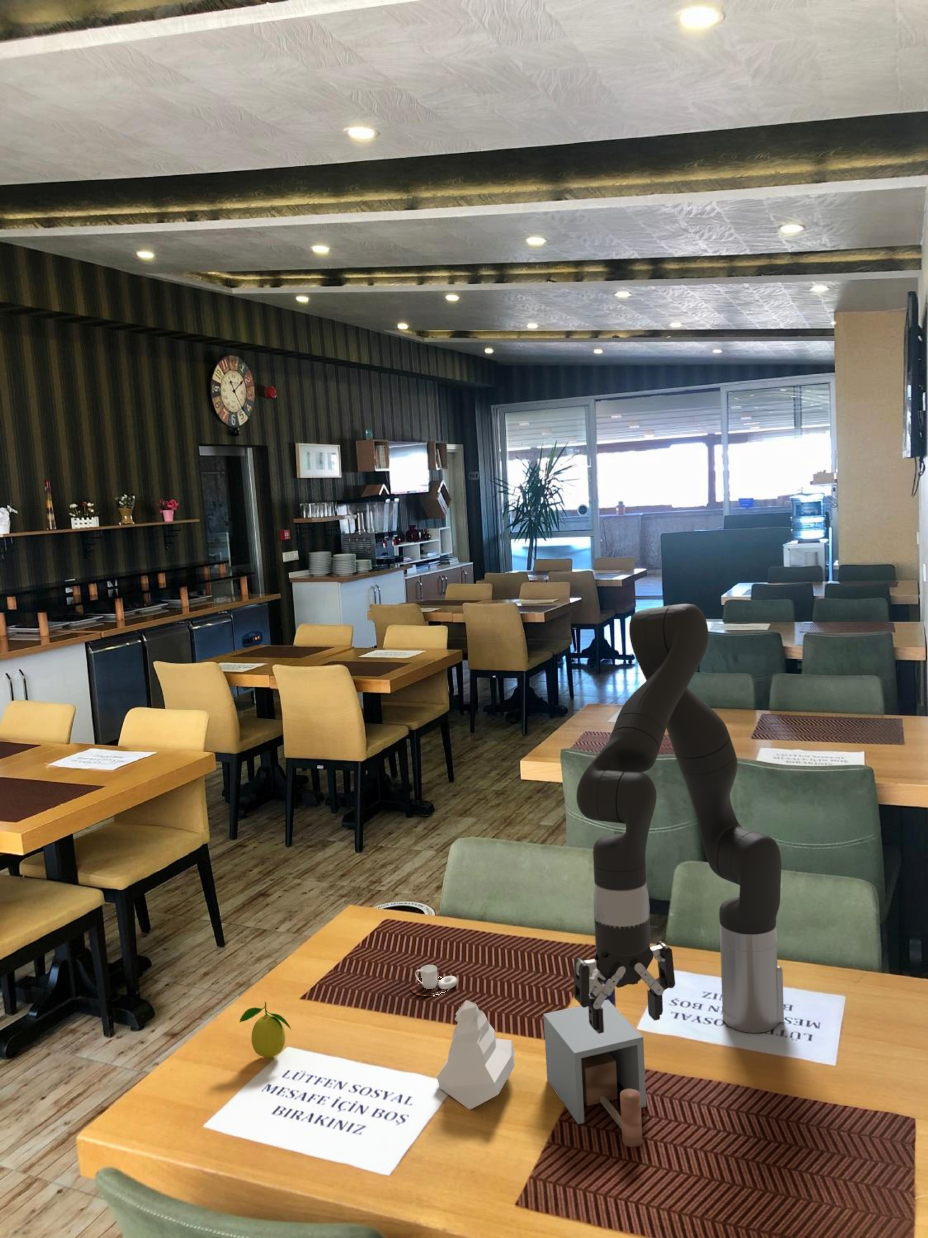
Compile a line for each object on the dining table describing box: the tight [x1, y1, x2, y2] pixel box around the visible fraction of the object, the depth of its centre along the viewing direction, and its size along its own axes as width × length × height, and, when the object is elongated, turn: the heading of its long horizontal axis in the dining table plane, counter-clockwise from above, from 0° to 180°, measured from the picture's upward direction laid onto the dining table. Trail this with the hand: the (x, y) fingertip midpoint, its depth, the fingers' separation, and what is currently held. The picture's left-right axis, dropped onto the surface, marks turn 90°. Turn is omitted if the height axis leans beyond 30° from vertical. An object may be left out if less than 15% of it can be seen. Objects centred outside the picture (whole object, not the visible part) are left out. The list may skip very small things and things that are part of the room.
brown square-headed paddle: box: [581, 1052, 643, 1148], centre depth 149 cm, size 5×16×7 cm, turn 17°
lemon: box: [238, 1001, 292, 1060], centre depth 169 cm, size 7×6×10 cm
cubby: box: [543, 1000, 647, 1125], centre depth 154 cm, size 11×12×11 cm
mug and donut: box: [414, 964, 458, 997], centre depth 191 cm, size 9×8×4 cm
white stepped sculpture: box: [436, 999, 515, 1111], centre depth 158 cm, size 12×15×14 cm
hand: (626, 1024), depth 140 cm, fingers open, 8 cm apart
